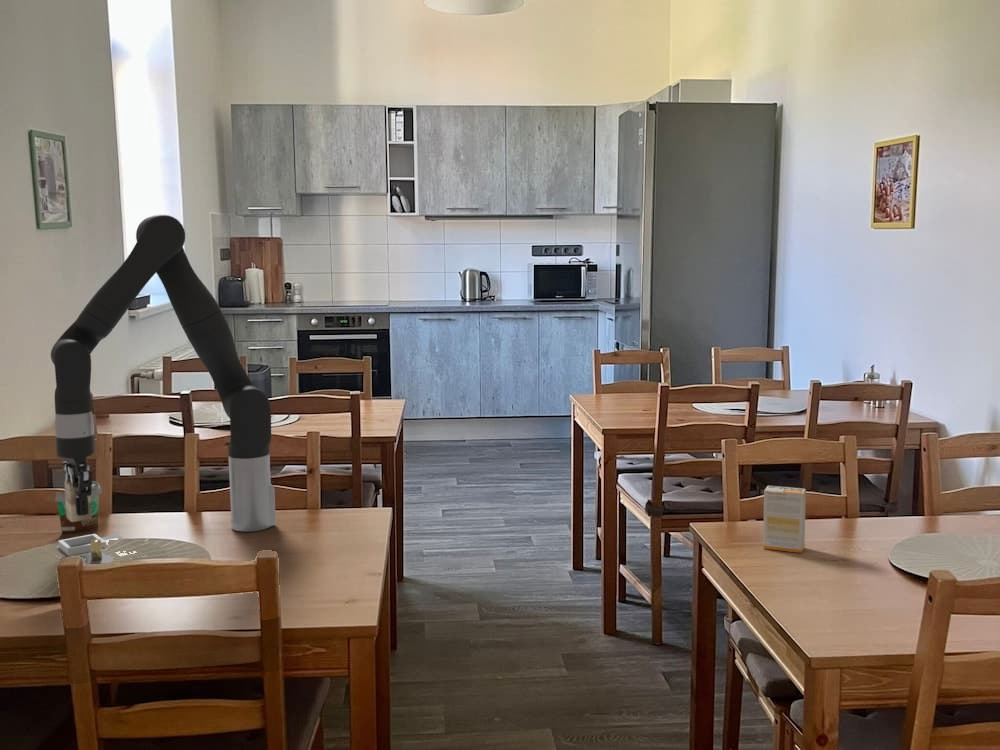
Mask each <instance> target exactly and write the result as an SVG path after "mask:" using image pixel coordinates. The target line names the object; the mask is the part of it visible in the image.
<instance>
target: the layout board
mask: <svg viewBox="0 0 1000 750" xmlns="http://www.w3.org/2000/svg"><path fill="white" fill-rule="evenodd" d="M95 539H100V540H101V549H105V548H106V545H109V544H108V542H109V540H118V539H125V538H124V537H123V536H121V535H119V534H114V535H108V536H102V537H100V536H99V535H97V534H96V533H92V534H85V535H81V536H74V537H70V538H66V539H59V540H57V542H58V545H56V546H55V548H57V549H58V550H59V551H60V552H61V553H63V554H64V555H65V556H66V557H67V558H68V557H71V556H80V557H83V558H84V559H85V558H86V560H85V563H86V564H101V563H109V562H112V561H114V560H113V558H114V557H111V556H110V555H105V553H103V552H102V560H99V561H92V560H91V545H90V541H91V540H95ZM106 550H107V549H106ZM106 550H102V551H106ZM123 552H124V553H120V551H118V552H115V553H116V554H117V555H118V556H120V557H122V556H126V555H128V554H127V553H125V552H126V551H123ZM119 553H120V554H119ZM129 553H130V554H135V553H137V552H136V551H133V553H131V552H129ZM130 554H129V555H130ZM146 555H147V554H146ZM146 555H145V556H142V555H141V556H142V557H144V558H148V557H149V555H148V556H146ZM138 558H139V557H138ZM129 559H132V558H129Z"/></svg>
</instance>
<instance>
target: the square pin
mask: <svg viewBox="0 0 1000 750" xmlns="http://www.w3.org/2000/svg"><path fill="white" fill-rule="evenodd" d="M75 483H78V482H75ZM82 491H85V487H83V488H82ZM64 492H65V501H66V518H67V519H68V520H70V521H71V522H76V521H82V520H87V519H92V514H91V496H89V497H88V514H87V515H81V516H79V515H77V511H76V497H75V488H73V487H72V484H71V481H68V482H67V481H65V480H64Z"/></svg>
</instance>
